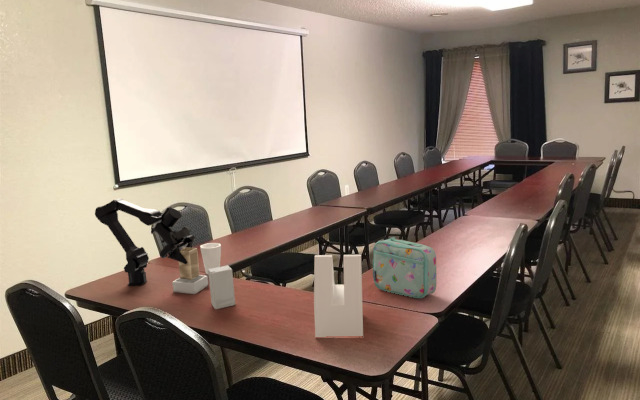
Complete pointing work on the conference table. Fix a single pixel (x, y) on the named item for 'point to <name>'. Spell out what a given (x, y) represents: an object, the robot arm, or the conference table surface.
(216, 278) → the skincare box
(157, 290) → the conference table surface
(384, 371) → the conference table surface
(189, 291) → the white tray
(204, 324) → the conference table surface
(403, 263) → the lunch box
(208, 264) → the foam cup
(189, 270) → the birch caddy
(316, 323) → the white notched block
